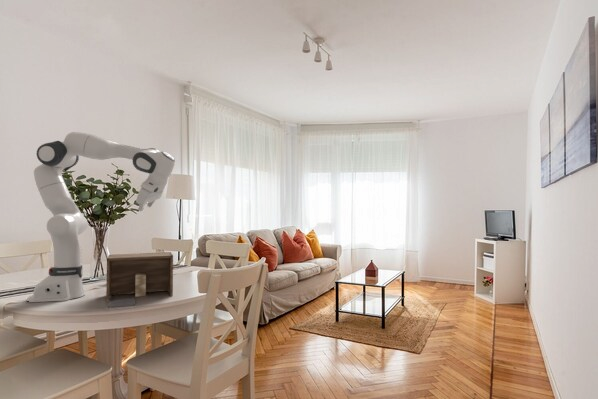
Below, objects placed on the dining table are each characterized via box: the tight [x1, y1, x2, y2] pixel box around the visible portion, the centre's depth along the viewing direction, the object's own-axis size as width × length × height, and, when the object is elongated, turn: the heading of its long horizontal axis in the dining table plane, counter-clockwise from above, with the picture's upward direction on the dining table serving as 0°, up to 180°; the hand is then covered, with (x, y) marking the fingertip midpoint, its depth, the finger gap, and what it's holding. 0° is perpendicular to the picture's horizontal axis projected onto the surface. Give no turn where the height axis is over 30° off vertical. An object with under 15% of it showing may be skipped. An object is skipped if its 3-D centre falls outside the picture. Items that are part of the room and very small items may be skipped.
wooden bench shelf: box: [105, 251, 174, 302], centre depth 181 cm, size 15×28×19 cm, turn 113°
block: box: [134, 273, 147, 297], centre depth 182 cm, size 4×4×10 cm
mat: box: [107, 298, 135, 308], centre depth 165 cm, size 10×10×1 cm
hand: (144, 208), depth 188 cm, fingers open, 8 cm apart
